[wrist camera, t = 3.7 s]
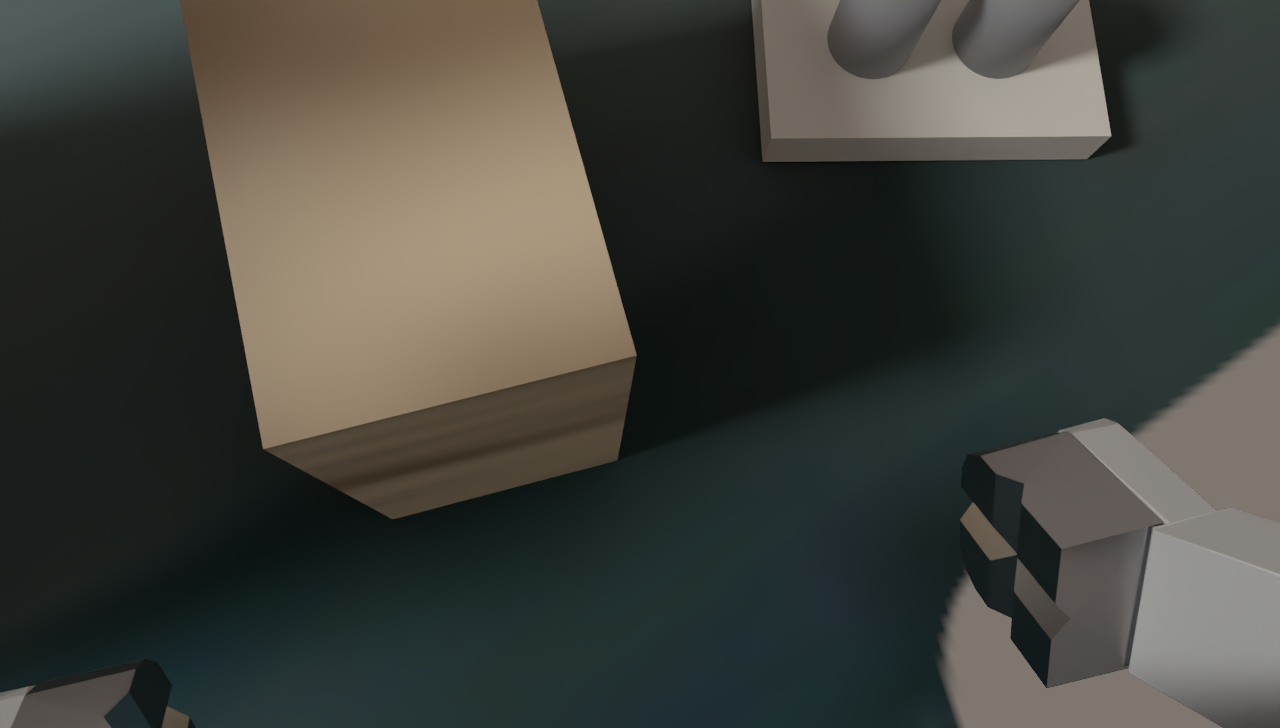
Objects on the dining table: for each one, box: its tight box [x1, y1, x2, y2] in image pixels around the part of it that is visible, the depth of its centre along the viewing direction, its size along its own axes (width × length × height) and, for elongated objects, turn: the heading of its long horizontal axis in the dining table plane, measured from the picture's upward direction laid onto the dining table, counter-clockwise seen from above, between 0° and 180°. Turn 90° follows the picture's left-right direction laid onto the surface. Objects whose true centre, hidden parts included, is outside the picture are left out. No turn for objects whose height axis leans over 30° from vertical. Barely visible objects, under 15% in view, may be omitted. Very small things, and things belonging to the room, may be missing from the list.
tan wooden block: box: [180, 0, 637, 519], centre depth 19 cm, size 10×5×9 cm, turn 15°
